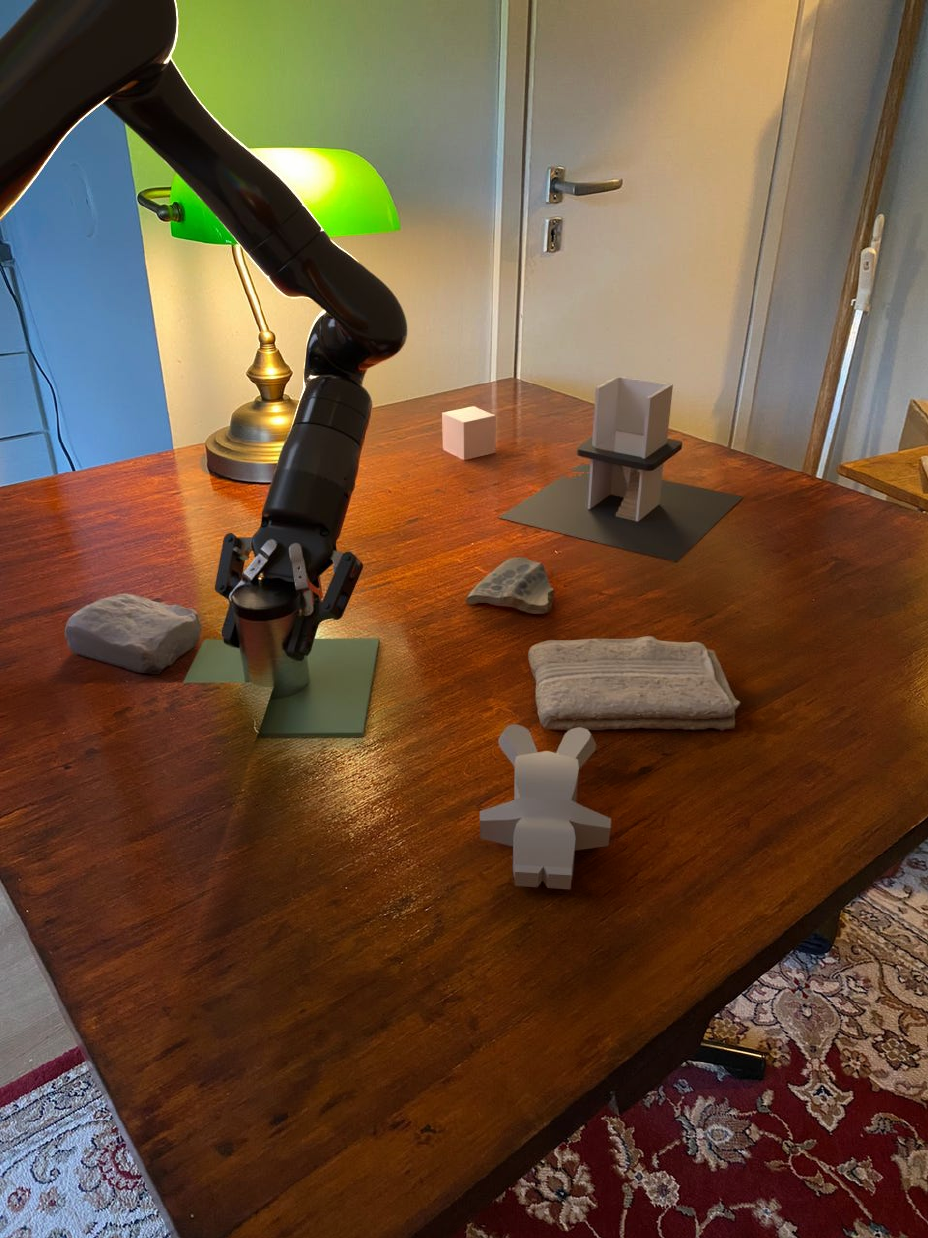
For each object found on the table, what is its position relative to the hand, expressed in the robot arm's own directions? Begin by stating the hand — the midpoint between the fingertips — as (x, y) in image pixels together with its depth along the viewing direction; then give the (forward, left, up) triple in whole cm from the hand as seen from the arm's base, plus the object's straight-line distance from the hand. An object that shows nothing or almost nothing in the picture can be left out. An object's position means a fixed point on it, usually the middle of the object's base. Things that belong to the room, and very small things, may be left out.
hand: (262, 651), depth 83 cm
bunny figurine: (+24, -17, -5) cm, 31 cm away
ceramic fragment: (+24, +20, -5) cm, 32 cm away
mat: (0, +2, -5) cm, 5 cm away
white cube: (+18, +68, -5) cm, 70 cm away
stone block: (-15, +10, -5) cm, 18 cm away
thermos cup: (+1, +2, -4) cm, 5 cm away
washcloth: (+33, 0, -5) cm, 34 cm away
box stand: (+39, +45, -5) cm, 60 cm away
